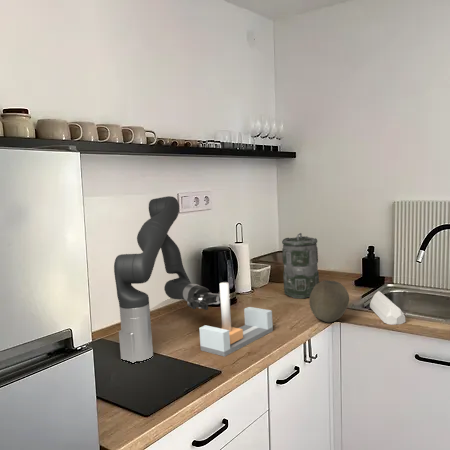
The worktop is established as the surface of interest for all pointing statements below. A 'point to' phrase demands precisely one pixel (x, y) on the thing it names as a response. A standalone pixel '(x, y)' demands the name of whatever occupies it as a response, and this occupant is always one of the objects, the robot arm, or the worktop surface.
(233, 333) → the carriage
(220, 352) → the rail track
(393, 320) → the crystal
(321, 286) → the cantaloupe
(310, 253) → the canister
